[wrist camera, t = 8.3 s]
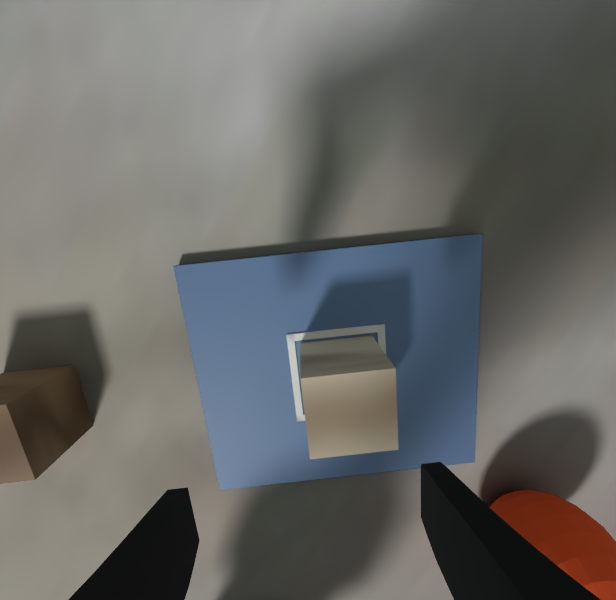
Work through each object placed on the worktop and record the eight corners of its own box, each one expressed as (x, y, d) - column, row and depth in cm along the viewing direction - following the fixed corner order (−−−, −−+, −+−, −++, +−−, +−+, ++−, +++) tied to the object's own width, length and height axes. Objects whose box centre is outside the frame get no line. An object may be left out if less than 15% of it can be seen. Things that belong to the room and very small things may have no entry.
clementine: (451, 559, 21) (527, 723, 14) (435, 482, 19) (512, 623, 12) (561, 532, 20) (696, 686, 14) (554, 452, 19) (703, 579, 12)
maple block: (375, 399, 17) (398, 449, 13) (307, 407, 17) (310, 459, 13) (371, 335, 16) (395, 368, 12) (300, 342, 16) (300, 378, 12)
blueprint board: (469, 455, 19) (475, 463, 18) (222, 482, 19) (219, 491, 18) (475, 233, 15) (483, 233, 15) (178, 265, 15) (172, 266, 15)
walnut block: (93, 424, 17) (35, 479, 14) (27, 432, 17) (-50, 489, 14) (74, 364, 17) (6, 404, 13) (5, 371, 17) (-86, 414, 13)
